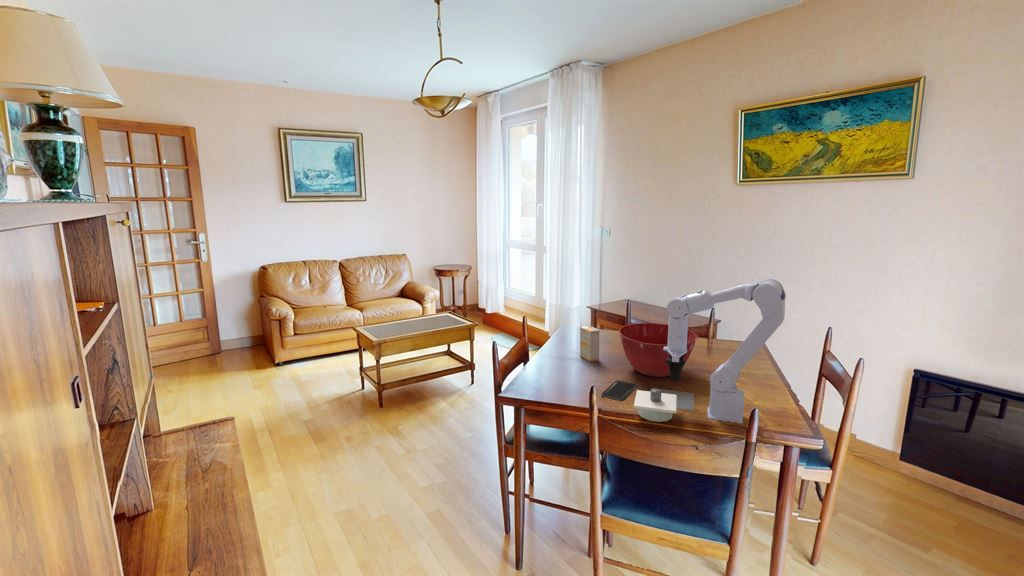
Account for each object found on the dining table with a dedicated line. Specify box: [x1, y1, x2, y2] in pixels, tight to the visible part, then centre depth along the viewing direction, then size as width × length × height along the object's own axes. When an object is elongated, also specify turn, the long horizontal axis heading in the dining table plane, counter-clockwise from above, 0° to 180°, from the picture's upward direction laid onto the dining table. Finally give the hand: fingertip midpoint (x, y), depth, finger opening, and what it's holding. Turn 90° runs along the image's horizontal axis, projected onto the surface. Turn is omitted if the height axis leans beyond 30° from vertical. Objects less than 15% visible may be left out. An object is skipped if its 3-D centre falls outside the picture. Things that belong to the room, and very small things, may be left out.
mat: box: [649, 387, 695, 412], centre depth 154 cm, size 14×14×1 cm
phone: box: [601, 380, 638, 402], centre depth 161 cm, size 8×1×15 cm
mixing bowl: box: [618, 322, 698, 378], centre depth 178 cm, size 28×28×15 cm
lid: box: [633, 388, 677, 415], centre depth 143 cm, size 12×12×4 cm
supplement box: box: [579, 325, 601, 363], centre depth 194 cm, size 8×5×13 cm, turn 22°
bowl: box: [637, 409, 674, 423], centre depth 143 cm, size 10×10×4 cm
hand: (675, 376), depth 149 cm, fingers open, 7 cm apart
